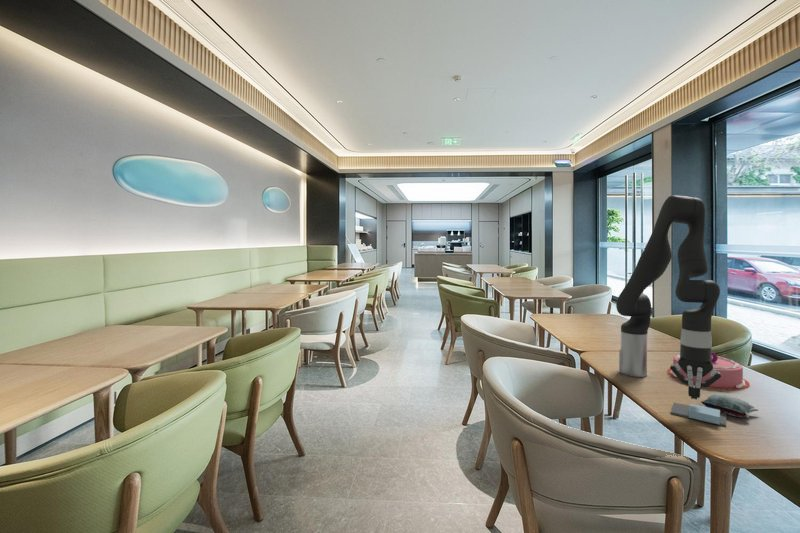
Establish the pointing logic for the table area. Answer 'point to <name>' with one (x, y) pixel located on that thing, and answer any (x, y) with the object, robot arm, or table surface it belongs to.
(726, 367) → the cake
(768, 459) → the table surface
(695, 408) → the block
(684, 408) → the mat
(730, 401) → the packaged food
